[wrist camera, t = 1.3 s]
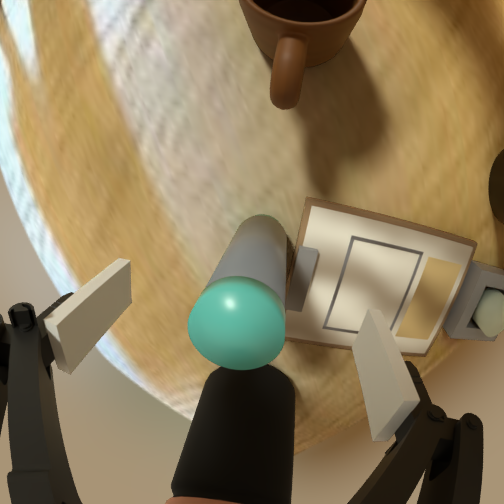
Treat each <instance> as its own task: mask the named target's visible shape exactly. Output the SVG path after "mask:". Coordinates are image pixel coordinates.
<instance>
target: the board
mask: <svg viewBox="0 0 504 504" xmlns="http://www.w3.org/2000/svg"><path fill="white" fill-rule="evenodd" d="M477 244H478V243H476V242H475V241H473V240H470V239H467V238H463V237H460V236H457V235H454V234H451V233H447V232H444V231H441V230H437V229H434V228H431V227H427V226H424V225H420V224H417V223H413V222H409V221H406V220H402V219H398V218H395V217H391V216H387V215H383V214H379V213H375V212H371V211H367V210H363V209H359V208H355V207H351V206H346V205H342V204H338V203H333V202H329V201H324V200H320V199H315V198H310V197H306V201H305V206H304V210H303V215H302V220H301V224H300V229H299V233H298V238H297V242H296V246H295V251H294V255H293V259H292V264H291V268H290V272H289V276H288V280H287V285H286V292H285V314H286V321H285V340H289V341H295V342H301V343H308V344H314V345H321V346H328V347H335V348H343V349H350V350H352V346H353V344H354V342H355V339H356V337H357V335H358V332H359V330H360V327H361V325H362V323H363V320H364V318H365V315H366V313H367V310H368V308H371V309H377V310H381V312H382V314H383V316H384V318H385V320H386V322H387V324H388V326H389V329H390V331H391V333H392V335H393V337H394V339H395V342H396V344H397V346H398V348H399V350H400V353H401V355H410V356H424V357H426V355H427V353H428V352H429V350H430V348H431V346H432V345H433V343H434V341H435V339H436V337H437V336H438V334H439V332H440V330H441V328H442V326H443V324H444V322H445V320H446V318H447V316H448V314H449V312H450V310H451V308H452V306H453V304H454V301H455V299H456V297H457V295H458V292H459V290H460V288H461V286H462V283H463V281H464V278H465V276H466V273H467V271H468V268H469V266H470V263H471V261H472V258H473V255H474V252H475V249H476V247H477Z"/></svg>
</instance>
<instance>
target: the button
mask: <svg viewBox="0 0 504 504" xmlns="http://www.w3.org/2000/svg"><path fill="white" fill-rule="evenodd" d="M472 319H473V320H474V321H475V322H476V324H477V325H478V326H479V328H480V329H481V330H482V331H483V333H484V334H485V335H486V336H487V337H494V336H496V335H498V334H499V333H501V332H502V331H503V330H504V295H503V294H502V293H501V292H500V291H499V290H498V289H497V288H493V287H489V288H487V289H485V290H484V291H483V294H482V296H481V298H480V300H479V302H478V304H477V307H476V309H475V311H474V313H473V315H472Z"/></svg>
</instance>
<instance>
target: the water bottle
mask: <svg viewBox="0 0 504 504" xmlns="http://www.w3.org/2000/svg"><path fill="white" fill-rule="evenodd" d="M489 199H490V204H491V207H492V210H493V212H494V214H495V216H496V217H497V219H498V220H499V221H500V222H501V223H503V224H504V150H502V151H501V152H500V153H499V154H498V156H497V157H496V159H495V161H494V163H493V166H492V168H491V172H490V177H489Z"/></svg>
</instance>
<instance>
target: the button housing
mask: <svg viewBox="0 0 504 504" xmlns="http://www.w3.org/2000/svg"><path fill="white" fill-rule="evenodd" d="M486 286H489V287H493V288H498V290H499V291H500V292H501V293H502V294H503V295H504V269H501V268H497V267H494V266H490V265H487V264H483V263H480V262H476V261H473V260H472V261H471V263H470V266H469V268H468V271H467V273H466V276H465V278H464V281H463V283H462V286H461V288H460V290H459V292H458V295H457V297H456V299H455V301H454V304H453V306H452V308H451V310H450V312H449V314H448V316H447V318H446V320H445V322H444V324H443V328H444V329H445V331H446V332H447V334H448V335H449V337H450V338H455V339H468V340H482V341H483V340H484V341H495V339H496V337H497V336H498V335H496V336H494V337H487V336H486V335H485V334H484V333H483V331H482V330H481V329H480V328H479V326H478V325H477V324H476V322H475V321H474V320H473V319H472V315H473V313H474V311H475V309H476V307H477V304H478V302H479V300H480V298H481V296H482V294H483V291H484V289H485V287H486Z"/></svg>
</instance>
